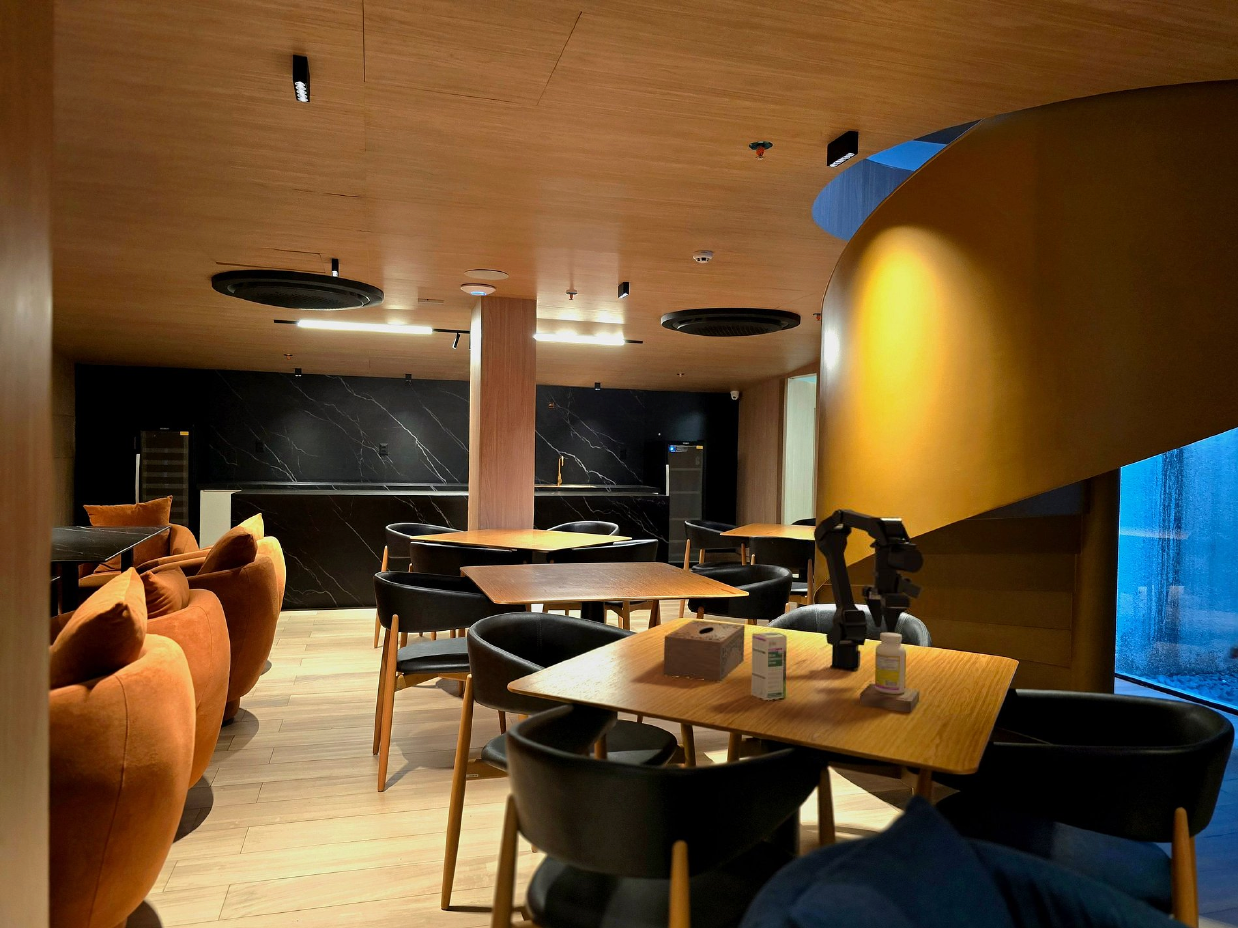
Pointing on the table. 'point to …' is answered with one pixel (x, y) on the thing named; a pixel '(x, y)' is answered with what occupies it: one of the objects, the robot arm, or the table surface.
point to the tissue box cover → (704, 650)
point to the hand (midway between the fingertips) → (884, 630)
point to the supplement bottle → (890, 664)
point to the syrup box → (769, 665)
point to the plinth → (889, 699)
